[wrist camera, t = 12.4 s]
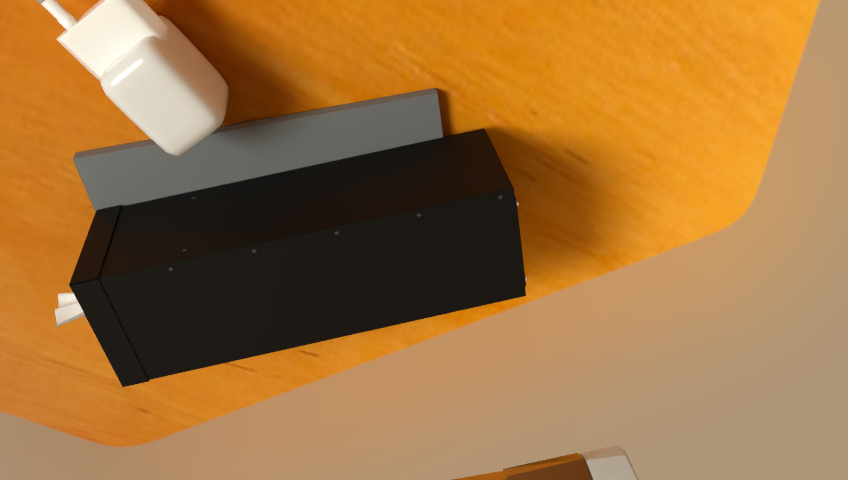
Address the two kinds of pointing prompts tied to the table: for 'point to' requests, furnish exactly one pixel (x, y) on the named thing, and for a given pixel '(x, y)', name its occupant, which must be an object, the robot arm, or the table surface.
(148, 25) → the power adapter
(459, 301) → the black long block
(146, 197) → the mat
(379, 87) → the table surface
